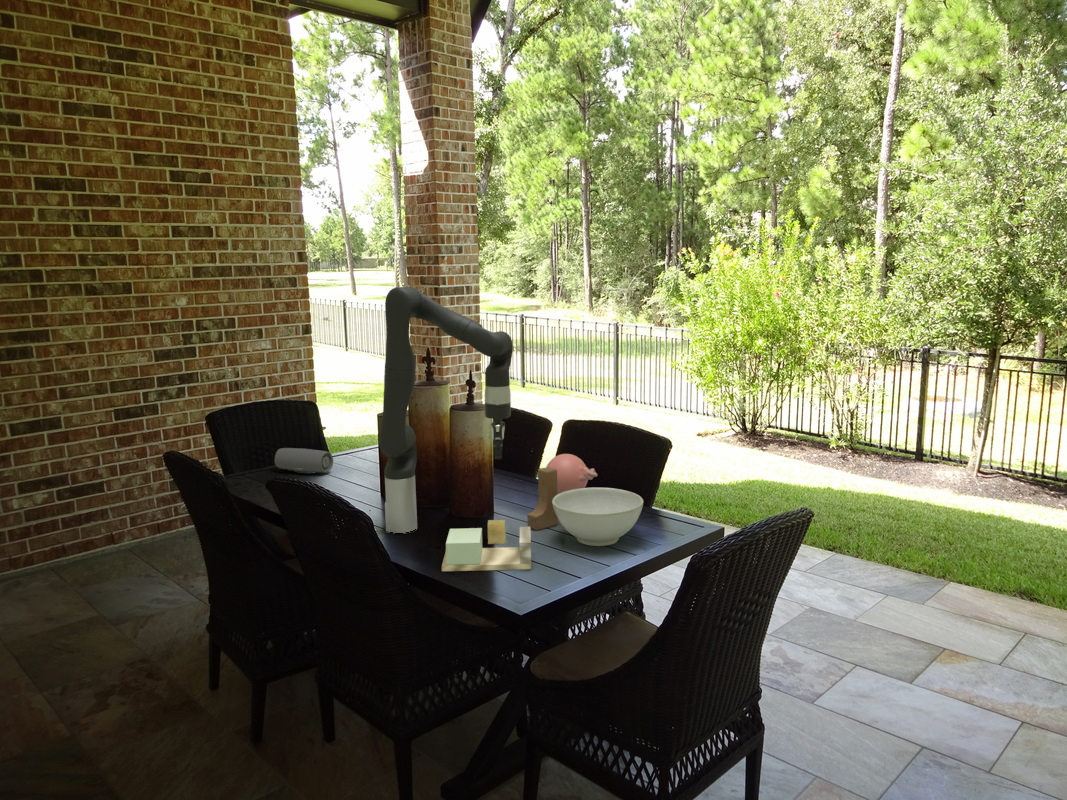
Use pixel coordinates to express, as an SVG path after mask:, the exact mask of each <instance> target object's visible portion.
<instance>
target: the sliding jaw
mask: <svg viewBox="0 0 1067 800" xmlns="http://www.w3.org/2000/svg"><path fill="white" fill-rule="evenodd" d="M483 548H484V547H483V528H482V527H476V528H475V527H469V528H449V531H448V535H447V538H446V542H445V552H446V560H447V565H462V564H480V562H481V555H482V549H483Z"/></svg>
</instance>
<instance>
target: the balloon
mask: <svg viewBox="0 0 1067 800" xmlns="http://www.w3.org/2000/svg"><path fill="white" fill-rule="evenodd" d="M546 467H550V468H553V469H557V492H558V494H560V493H562V492H565V491H569V490H574V489H580V488H586V487H587V484H588V481H589V480H590V481H591V480H593V479H594V478H596V477H598V473H597V472H596V470H595V468H593V467H592V468H589V467H587V465H586V464H585V463H584V461H583V460H582V459H581V458H580V457H578V456H577V455H574V454H570V453H561V454H558V455H556V456H554V457H553V458H552V459H551V460H550V461H549V462H548V463H547V465H546ZM546 467H545V468H546Z"/></svg>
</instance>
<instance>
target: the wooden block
mask: <svg viewBox="0 0 1067 800" xmlns="http://www.w3.org/2000/svg"><path fill="white" fill-rule="evenodd" d="M537 482H538V483H537V486H538V487H537V489H538V491H537V492H538V495H537V496H538V499H537V500H538V501H537V505H536V507H535V508H534V510H533V511H531V512H528V513H527V527H530V530H533V531H538V530H543V529H546V528H550V527H553V526H558V525H559V519H558V518H557V516H556V513H555V511H554V508H553V504H552V500H553V498H554V497H555V496H556V495H558V492H557V469H553V468H550V467H542V468H539V469H537Z"/></svg>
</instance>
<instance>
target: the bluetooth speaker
mask: <svg viewBox="0 0 1067 800" xmlns="http://www.w3.org/2000/svg"><path fill="white" fill-rule="evenodd" d="M333 457H334V456H333V455H332V453H331V452H330V451H326V450H319V449H312V448H297V447H295V448H294V447H282V448H278V449H277V451H276V452H275V456H274V465H275V466H276V467H277V468H278V469H282V470H286V469H287V471H292V470H294V471H308V472H317V473H327V472H326V471H328V472H330V471H331V470H332V468H333V465H334V458H333ZM329 470H330V471H329Z"/></svg>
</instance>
